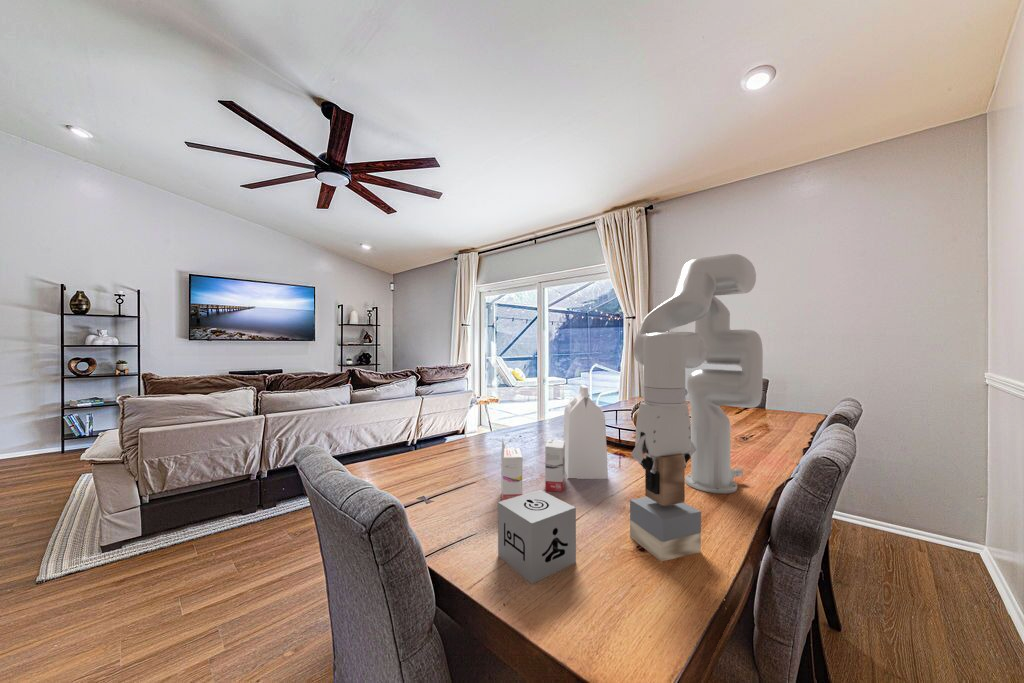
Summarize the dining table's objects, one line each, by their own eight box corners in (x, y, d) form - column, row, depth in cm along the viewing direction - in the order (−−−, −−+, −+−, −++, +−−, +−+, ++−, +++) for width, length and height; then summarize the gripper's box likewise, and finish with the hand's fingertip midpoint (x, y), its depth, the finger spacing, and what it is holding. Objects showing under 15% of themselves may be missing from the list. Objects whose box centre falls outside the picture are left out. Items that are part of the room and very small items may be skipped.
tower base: (666, 531, 78) (666, 512, 78) (700, 555, 70) (700, 533, 70) (630, 539, 76) (630, 519, 76) (660, 564, 67) (660, 542, 67)
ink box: (563, 493, 98) (563, 447, 98) (544, 491, 99) (544, 446, 99) (565, 480, 106) (565, 439, 106) (548, 479, 107) (548, 438, 107)
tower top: (665, 512, 79) (665, 493, 79) (700, 532, 70) (700, 511, 70) (630, 519, 75) (630, 499, 75) (663, 542, 67) (663, 519, 67)
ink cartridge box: (523, 506, 90) (523, 444, 90) (502, 506, 90) (502, 445, 90) (519, 491, 99) (519, 435, 99) (500, 492, 98) (500, 436, 98)
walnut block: (665, 492, 76) (665, 447, 76) (684, 502, 71) (684, 455, 71) (645, 495, 75) (645, 450, 74) (663, 506, 70) (663, 457, 70)
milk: (608, 479, 108) (607, 388, 108) (567, 479, 108) (567, 388, 108) (598, 465, 120) (598, 384, 120) (562, 465, 120) (562, 384, 120)
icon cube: (498, 556, 69) (498, 502, 69) (539, 539, 75) (539, 489, 75) (531, 584, 61) (531, 523, 61) (575, 563, 67) (575, 507, 67)
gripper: (684, 391, 79) (684, 477, 79) (615, 395, 74) (615, 488, 74) (713, 396, 72) (714, 491, 72) (640, 401, 67) (640, 504, 67)
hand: (664, 488), depth 73 cm, fingers closed on walnut block, 4 cm apart
